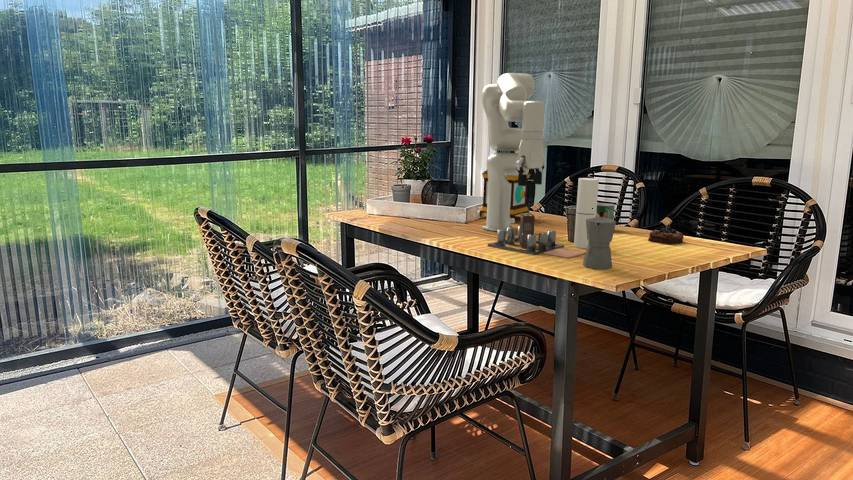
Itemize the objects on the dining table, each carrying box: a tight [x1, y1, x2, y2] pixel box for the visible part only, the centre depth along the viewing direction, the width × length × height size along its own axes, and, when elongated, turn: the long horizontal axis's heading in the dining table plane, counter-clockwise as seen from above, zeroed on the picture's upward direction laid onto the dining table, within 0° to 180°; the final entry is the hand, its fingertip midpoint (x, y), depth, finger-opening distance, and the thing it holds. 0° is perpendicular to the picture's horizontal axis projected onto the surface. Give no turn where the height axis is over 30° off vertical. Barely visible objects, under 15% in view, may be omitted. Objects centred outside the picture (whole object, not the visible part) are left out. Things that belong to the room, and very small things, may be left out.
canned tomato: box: [596, 202, 615, 220], centre depth 279 cm, size 8×8×11 cm
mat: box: [542, 247, 586, 260], centre depth 229 cm, size 12×10×1 cm
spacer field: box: [487, 225, 565, 256], centre depth 239 cm, size 20×20×6 cm
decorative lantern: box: [478, 169, 531, 219], centre depth 302 cm, size 20×20×30 cm
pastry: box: [647, 226, 684, 246], centre depth 257 cm, size 11×12×6 cm
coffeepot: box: [582, 211, 617, 271], centre depth 210 cm, size 15×9×18 cm, turn 159°
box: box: [519, 212, 536, 249], centre depth 238 cm, size 6×4×12 cm
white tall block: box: [573, 177, 600, 249], centre depth 240 cm, size 7×7×25 cm
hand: (529, 184), depth 235 cm, fingers open, 9 cm apart
